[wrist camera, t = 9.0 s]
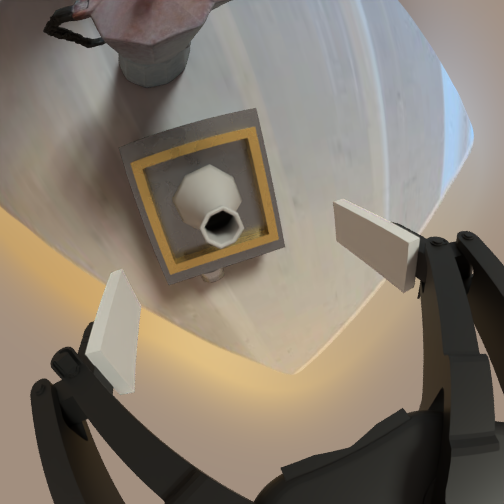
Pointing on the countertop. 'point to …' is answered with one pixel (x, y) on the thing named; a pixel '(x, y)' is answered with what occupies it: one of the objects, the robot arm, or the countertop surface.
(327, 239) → the countertop surface
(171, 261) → the plate
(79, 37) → the moka pot
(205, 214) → the flask
